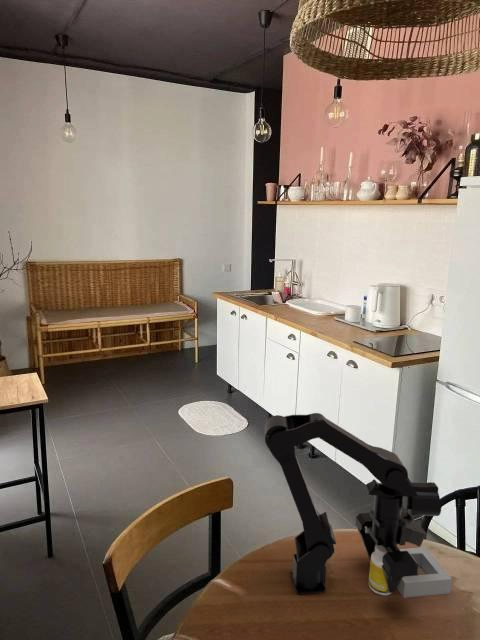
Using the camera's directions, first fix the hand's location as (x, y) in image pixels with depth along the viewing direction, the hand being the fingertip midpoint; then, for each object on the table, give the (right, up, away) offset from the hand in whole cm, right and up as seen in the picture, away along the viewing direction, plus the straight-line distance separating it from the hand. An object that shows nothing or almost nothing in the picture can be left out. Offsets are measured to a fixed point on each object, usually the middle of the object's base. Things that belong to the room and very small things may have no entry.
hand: (381, 577), depth 103 cm
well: (+9, -2, +4) cm, 10 cm away
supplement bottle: (0, -3, 0) cm, 3 cm away
